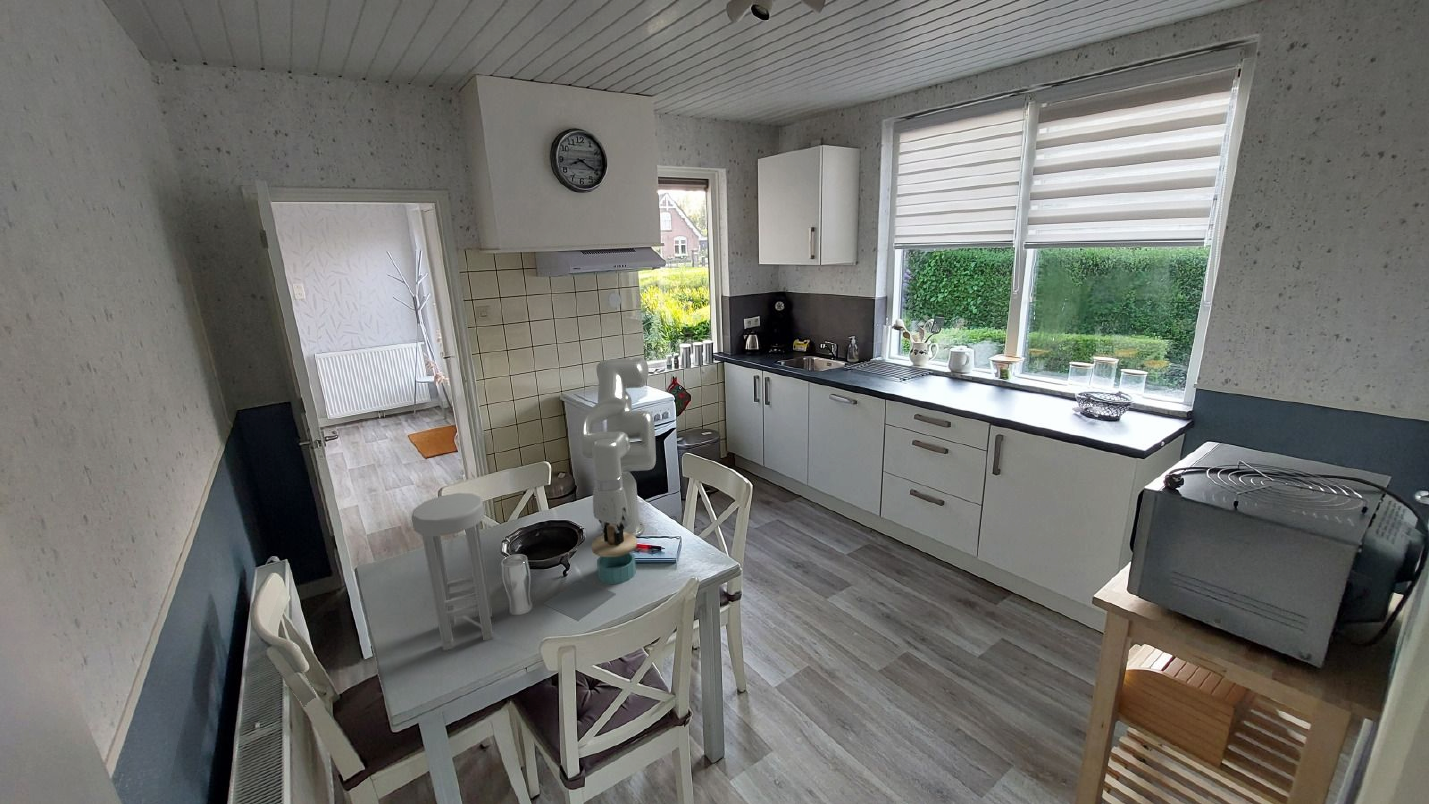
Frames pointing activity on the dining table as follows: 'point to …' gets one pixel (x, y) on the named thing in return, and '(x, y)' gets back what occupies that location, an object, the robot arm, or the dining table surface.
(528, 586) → the beer glass
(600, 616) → the dining table surface
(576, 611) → the mat
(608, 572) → the bowl
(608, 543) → the lid
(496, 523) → the dining table surface
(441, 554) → the stool
